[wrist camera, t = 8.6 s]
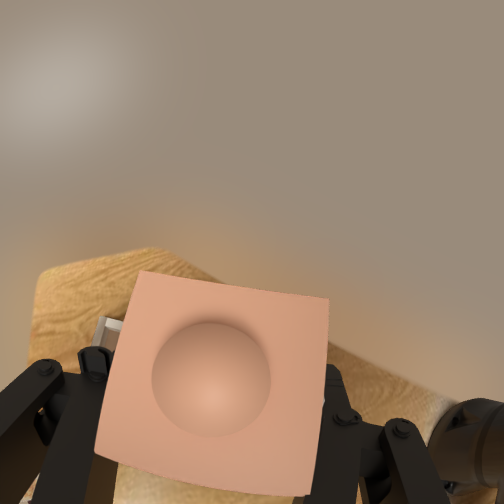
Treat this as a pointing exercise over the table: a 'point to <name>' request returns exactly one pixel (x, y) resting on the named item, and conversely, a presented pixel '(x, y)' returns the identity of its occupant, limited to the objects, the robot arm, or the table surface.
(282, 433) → the block
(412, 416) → the table surface
